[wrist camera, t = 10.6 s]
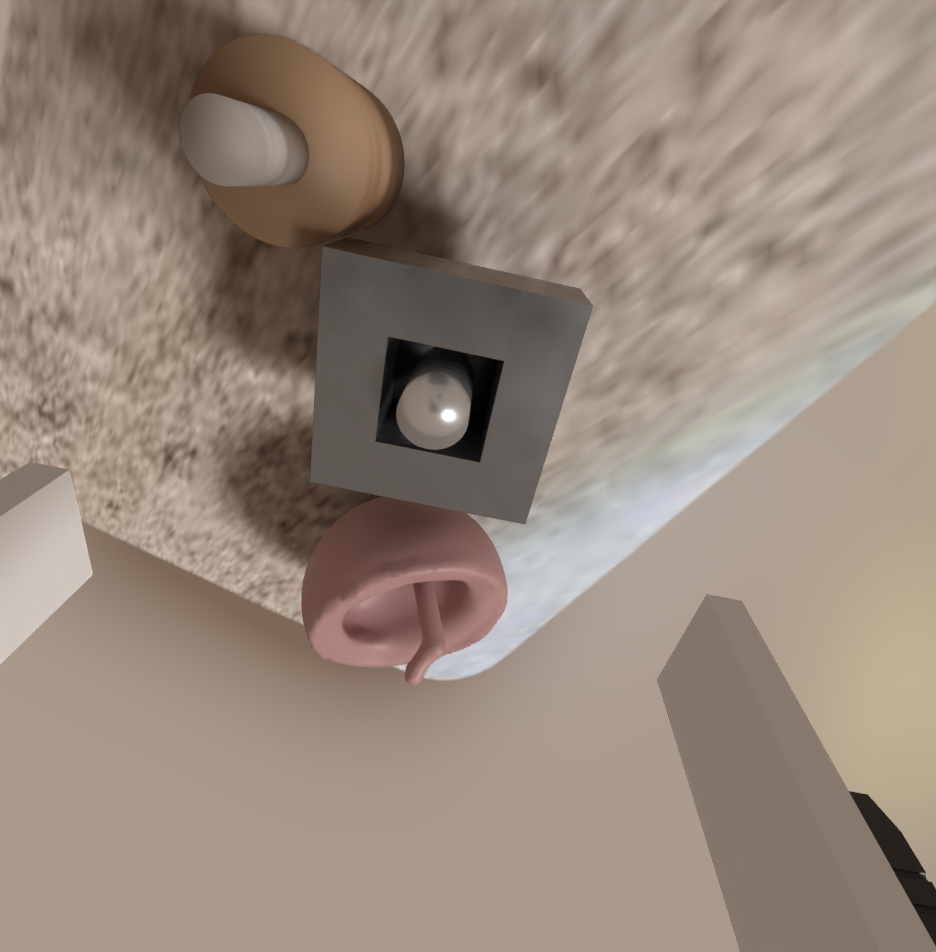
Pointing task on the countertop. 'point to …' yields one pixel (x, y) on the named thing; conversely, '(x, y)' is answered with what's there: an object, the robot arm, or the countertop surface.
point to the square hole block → (451, 327)
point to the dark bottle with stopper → (440, 393)
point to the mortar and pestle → (401, 586)
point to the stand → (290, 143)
